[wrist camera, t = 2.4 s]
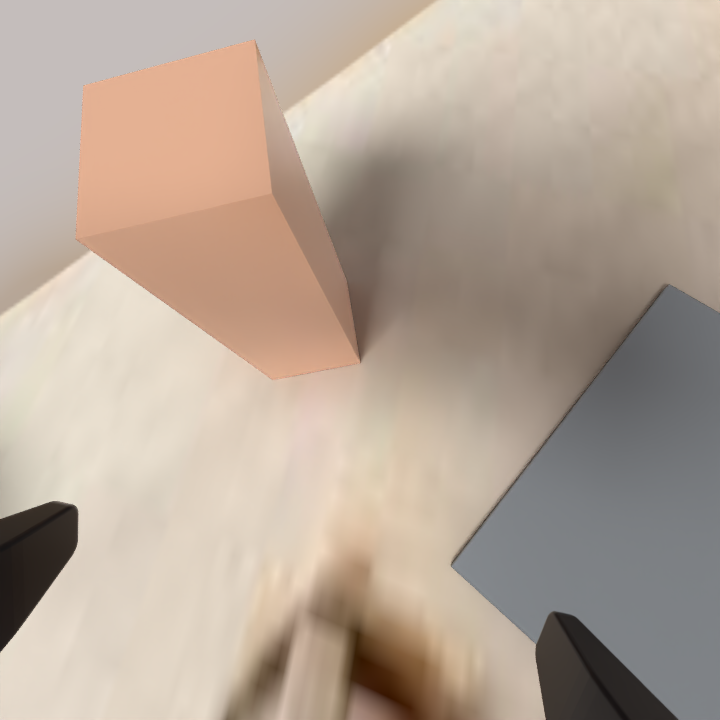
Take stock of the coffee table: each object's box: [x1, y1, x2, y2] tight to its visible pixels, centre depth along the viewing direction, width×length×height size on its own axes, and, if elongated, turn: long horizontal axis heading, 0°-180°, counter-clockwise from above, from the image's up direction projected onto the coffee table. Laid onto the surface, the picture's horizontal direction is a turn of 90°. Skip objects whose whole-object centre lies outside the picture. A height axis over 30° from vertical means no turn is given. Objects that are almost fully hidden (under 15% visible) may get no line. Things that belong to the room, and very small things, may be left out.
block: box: [76, 40, 360, 380], centre depth 16 cm, size 4×4×13 cm
